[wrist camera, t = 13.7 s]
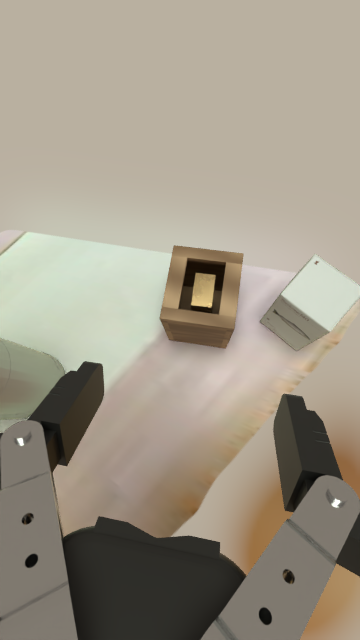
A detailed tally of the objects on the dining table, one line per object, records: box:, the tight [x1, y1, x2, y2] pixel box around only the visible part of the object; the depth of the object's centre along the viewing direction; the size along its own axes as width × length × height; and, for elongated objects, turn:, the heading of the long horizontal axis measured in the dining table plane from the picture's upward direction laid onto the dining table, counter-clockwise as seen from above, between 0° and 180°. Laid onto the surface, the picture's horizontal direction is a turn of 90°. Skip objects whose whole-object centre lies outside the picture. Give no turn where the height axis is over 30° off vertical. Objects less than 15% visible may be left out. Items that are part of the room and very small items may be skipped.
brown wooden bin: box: [160, 246, 243, 348], centre depth 43 cm, size 10×9×12 cm
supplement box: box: [260, 254, 360, 351], centre depth 41 cm, size 7×7×13 cm
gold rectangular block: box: [191, 273, 216, 314], centre depth 43 cm, size 4×3×10 cm, turn 172°
